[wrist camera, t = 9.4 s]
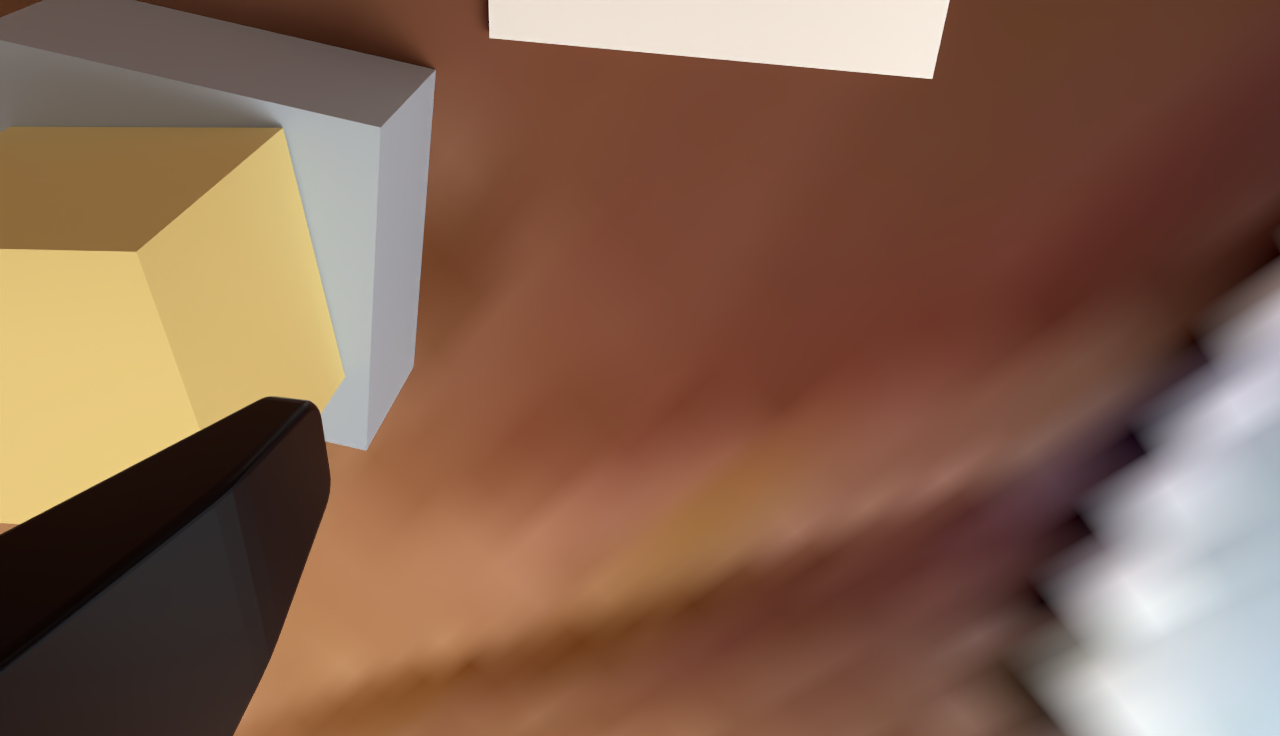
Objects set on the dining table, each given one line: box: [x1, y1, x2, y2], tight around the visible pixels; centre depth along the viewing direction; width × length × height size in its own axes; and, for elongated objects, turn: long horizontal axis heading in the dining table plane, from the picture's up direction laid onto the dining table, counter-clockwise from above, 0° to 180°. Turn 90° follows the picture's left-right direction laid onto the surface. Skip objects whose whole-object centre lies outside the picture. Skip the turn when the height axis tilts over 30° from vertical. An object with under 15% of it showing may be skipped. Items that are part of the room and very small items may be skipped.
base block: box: [0, 0, 436, 450], centre depth 20 cm, size 7×7×4 cm
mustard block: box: [0, 127, 345, 524], centre depth 17 cm, size 5×5×4 cm
